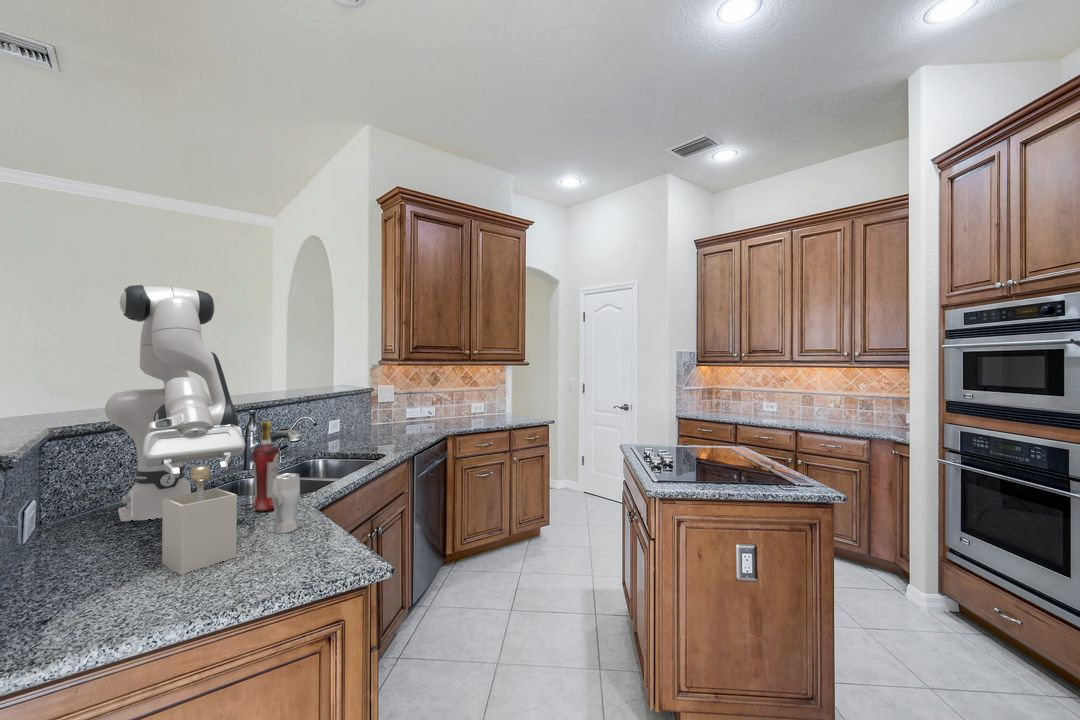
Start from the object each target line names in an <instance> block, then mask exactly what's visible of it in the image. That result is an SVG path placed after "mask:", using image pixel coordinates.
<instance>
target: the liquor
mask: <svg viewBox="0 0 1080 720" xmlns="http://www.w3.org/2000/svg"><path fill="white" fill-rule="evenodd" d="M271 430H272V421H262V422H261V431H262V432H261V441H260V447H258V448H255V449H254V450H253V451H252V459H253V460H252V463H253V464H252V466H253V467H252V468H253V480H254V483H253V484H254V505H253V509H254V510H256V511H257V512H258V511H267V512H270V511H269V510H271V511H273V510H274V507H273V502H272V482H273V477H274V476H276V475H279V467H280V464H279V462H280V449H279V448H278V447H276V446H274V445H273V444H272V435H271ZM272 509H273V510H272Z"/></svg>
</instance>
